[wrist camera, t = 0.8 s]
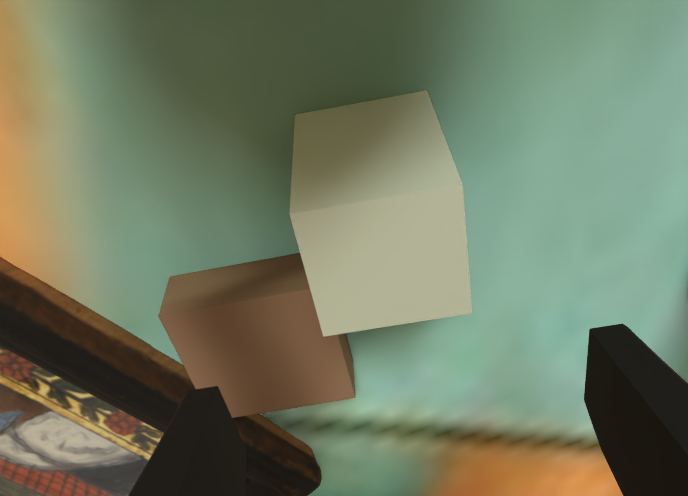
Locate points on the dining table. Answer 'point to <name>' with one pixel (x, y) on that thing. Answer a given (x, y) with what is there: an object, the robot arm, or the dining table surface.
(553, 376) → the dining table surface
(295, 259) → the walnut base
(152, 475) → the robot arm
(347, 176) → the sage block
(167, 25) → the dining table surface
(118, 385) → the framed icon painting
